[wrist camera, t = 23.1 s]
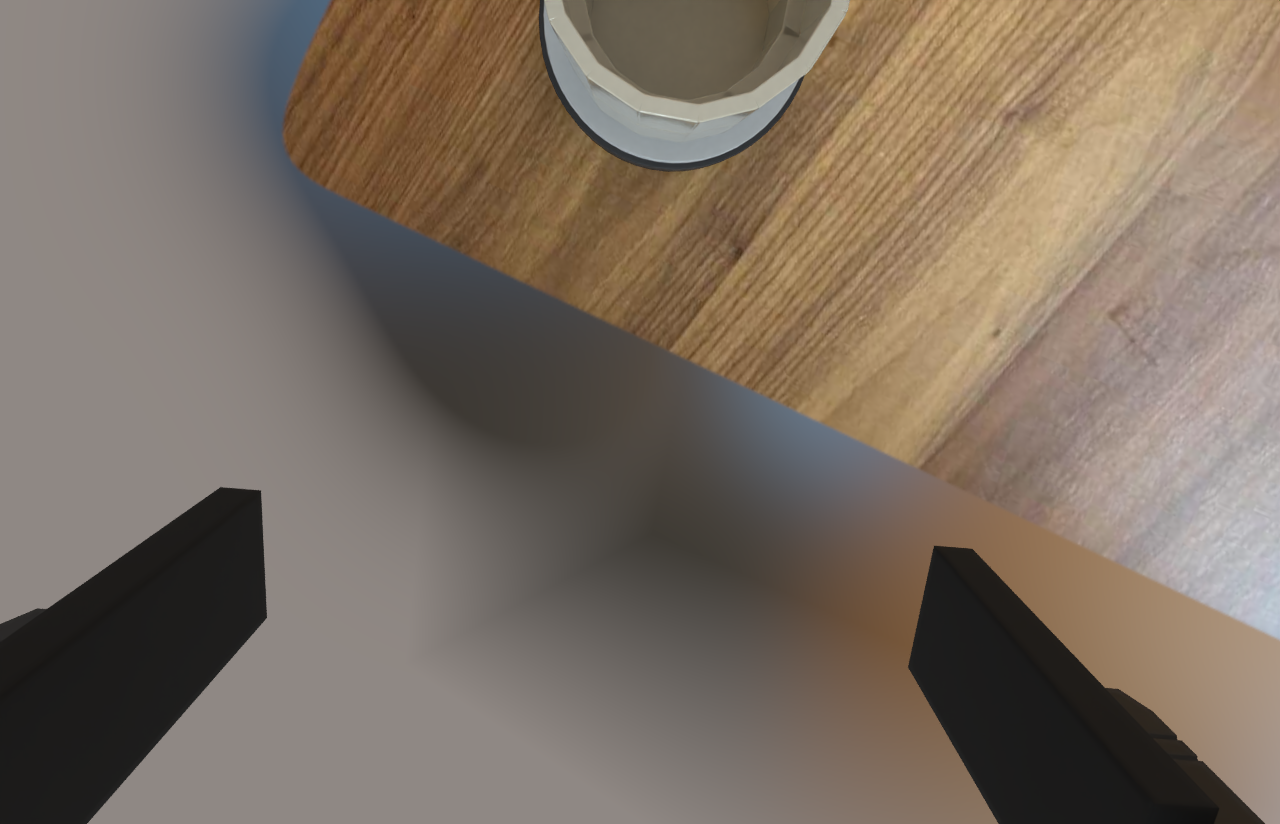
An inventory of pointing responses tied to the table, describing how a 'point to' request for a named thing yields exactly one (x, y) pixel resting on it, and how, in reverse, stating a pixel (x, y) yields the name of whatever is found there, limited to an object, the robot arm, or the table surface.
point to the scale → (647, 148)
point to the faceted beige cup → (690, 57)
